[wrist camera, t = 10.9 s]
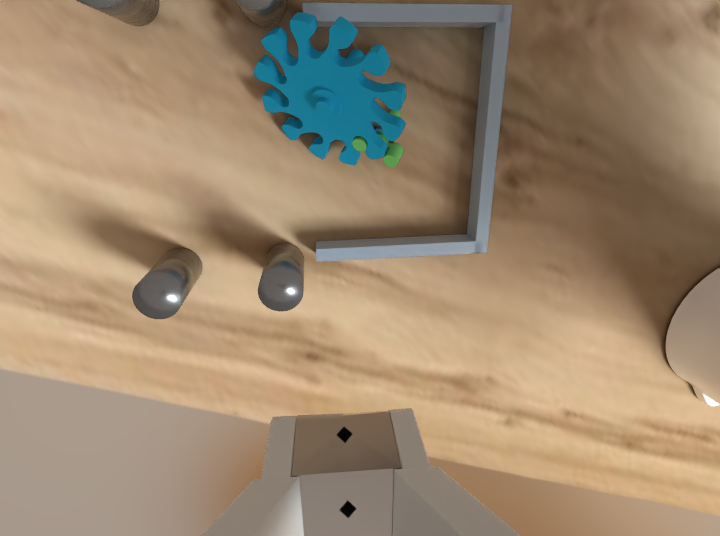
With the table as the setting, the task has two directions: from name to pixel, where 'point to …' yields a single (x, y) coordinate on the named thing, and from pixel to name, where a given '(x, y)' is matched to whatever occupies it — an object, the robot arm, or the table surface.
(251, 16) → the spacer posts
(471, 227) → the u-shaped bent rod
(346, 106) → the gear
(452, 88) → the table surface
